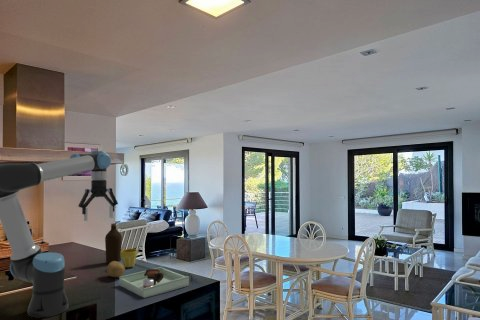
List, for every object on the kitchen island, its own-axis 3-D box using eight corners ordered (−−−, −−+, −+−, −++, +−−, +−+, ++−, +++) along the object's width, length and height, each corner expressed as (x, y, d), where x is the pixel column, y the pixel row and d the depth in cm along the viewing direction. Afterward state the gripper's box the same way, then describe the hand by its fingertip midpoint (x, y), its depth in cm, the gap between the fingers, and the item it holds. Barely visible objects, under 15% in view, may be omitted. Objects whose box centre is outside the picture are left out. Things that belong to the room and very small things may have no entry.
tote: (144, 299, 158) (144, 289, 159) (119, 285, 177) (119, 276, 177) (189, 285, 177) (189, 276, 177) (162, 274, 195) (162, 266, 195)
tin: (146, 295, 161) (146, 282, 161) (141, 292, 165) (141, 280, 165) (155, 292, 165) (155, 280, 165) (150, 290, 168) (150, 277, 168)
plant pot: (116, 267, 210) (116, 251, 210) (126, 263, 220) (126, 248, 220) (131, 268, 207) (131, 252, 208) (140, 264, 217) (140, 249, 217)
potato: (110, 281, 183) (110, 267, 184) (104, 275, 195) (104, 261, 195) (128, 278, 189) (128, 264, 189) (121, 272, 200) (121, 258, 201)
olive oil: (122, 262, 222) (122, 224, 223) (105, 264, 218) (105, 225, 219) (121, 258, 232) (121, 222, 233) (104, 260, 228) (104, 223, 228)
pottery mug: (139, 285, 174) (140, 269, 179) (149, 288, 182) (151, 273, 186) (158, 283, 171) (159, 266, 175) (168, 286, 178) (169, 270, 182)
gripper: (77, 180, 169) (76, 222, 168) (124, 179, 187) (124, 217, 186) (71, 180, 174) (71, 221, 174) (118, 179, 192) (117, 216, 191)
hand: (98, 219), depth 180 cm, fingers open, 13 cm apart
